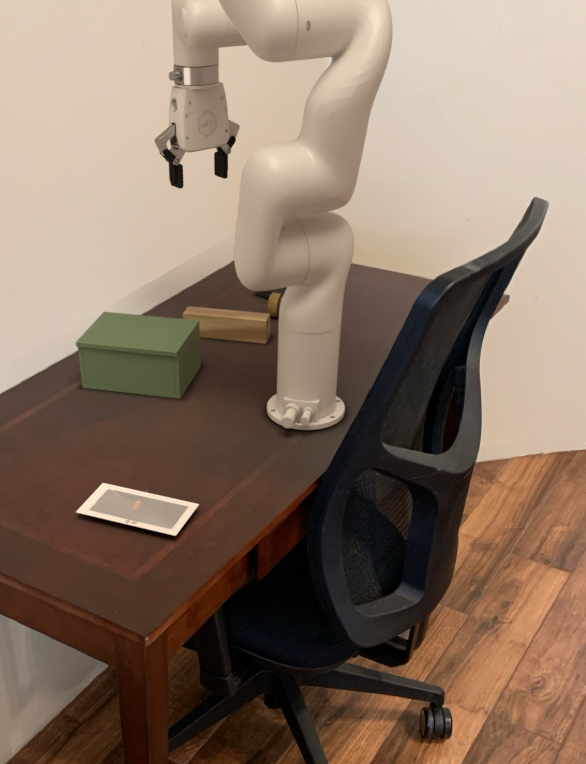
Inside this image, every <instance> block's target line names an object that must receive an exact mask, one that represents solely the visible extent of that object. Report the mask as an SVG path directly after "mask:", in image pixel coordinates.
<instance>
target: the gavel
mask: <svg viewBox="0 0 586 764" xmlns="http://www.w3.org/2000/svg"><path fill="white" fill-rule="evenodd" d="M282 298H283V294H282V293H274V292H273V293H272V294H271V295H270V297H269V298H268V301H267V307H266V308H267V313H268V314H270V317H273V318H279V309H280V304H281V301H282Z"/></svg>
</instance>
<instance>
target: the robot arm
mask: <svg viewBox="0 0 586 764" xmlns="http://www.w3.org/2000/svg"><path fill="white" fill-rule="evenodd" d="M171 24H172V25H171V27H172V49H173V50H172V51H173V52H172V53H173V70H172V71H169V73H168V79H169V81H170V82H171V81H173V83H174V85H172V86H171V91H170V96H169V108H168V127H167V128H165V129H164V130H163V131H162V132H161V133H160V134H159V135H158V136H156V137H155V139H154V144H155V145H156V148H157V150H158V151H159V152H158V153H159V155H161V157H162V158H163V159H164V160H165V162H166V163H168V178H169V183H170V186H171V187H174V188H177V189H179V190H180V189H183V187H184V186H185V185H184V166H183V164H181V162H182V159H183V157H184V156H185V154H186V153H196V152H202V151H207V150H212V149H216V151H214V153H213V162H214V163H213V164H214V165H213V168H214V169H213V171H214V176H216V177H218V178H221V179H223V180H224V179H227V178H228V176H229V175H228V174H229V173H228V171H229V155H231V153H232V148H233V146H234V145H235V143H236V141H237V136H238V133H239V131H240V124H239V123H237V122H235V121H233V120H231V119H229V111H228V103H227V102H228V101H227V95H226V89H225V86H224V82H222V81H220V48H221V49H222V48H230V47H232V48H233V47H243V46H244V47H245V46H247V47H248V48H249V49H250V51H252V53H253V54H254V55H255V56H256V57H257V58H259V59H260V60H262V61H265V62H269V63H285V62H287V63H288V62H296V61H297V62H298V61H306V60H314V59H323V58H324V59H325V58H331V63H329V66H328V67H327V68H326V69H325V70H324V71H323V72H322V74H321V75H320V76H319V77H318V79H317V80H316V81H315V83H314V85H313V87H312V88H311V91H310V92H309V94H308V96H307V99H306V101H305V102H304V103H305V104H304V109H303V116H302V123H301V128H300V132H299V135H298V136H297V137H296V138H295V139H293V140H290V141H283V142H282V141H281V142H276V143H270V144H266V145H262V146H260V147H258V148H256V149H254V151H252V152H251V153H250V154H249V156H248V157H247V159H246V161H245V163H244V166H243V168H242V172H241V177H240V182H239V183H240V184H239V193H238V204H237V212H236V222H235V232H234V244H233V261H234V267H235V268H234V269H235V273H236V276H237V278H238V280H239V282H240V283H241V285H243V286H244V288H246V289H248V290H250V291H253V292H257V291H268V290H274V289H279V288H285V287H287V289H286V291H285V293H284V295H283V298H282V301H281V304H280V309H279V317H278V326H277V327H278V330H277V332H278V333H277V365H276V367H277V369H276V371H277V372H276V393H275V394H274V395H272V396H271V397H270V398H269V399H268V401H267V402H266V414H267V416H268V417H269V418H270V420H272V421H273V422H274V423H275V424H277V425H279V426H282V427H283V428H284V429H292V430H297V431H317V430H318V431H319V430H323V429H327V428H329V427H332V426H334V425H336V424H338V423H339V422H340V421H342V420H343V418H344V416H345V413H346V405H345V403H344V401H343V399H341V398H340V397H339V396H337V386H338V373H339V359H340V347H341V346H340V344H341V331H342V320H343V307H344V298H345V291H346V285H347V282H348V281H347V280H348V276H349V272H350V269H351V265H352V262H353V258H354V252H355V236H354V232H353V229H352V227H351V225H350V223H349V221H348V220H347V219H345V218H344V217H343V216H342V215H341V214H338V213H336V212H333V211H336V210H339V209H341V208H343V207H346V205H347V204H349V202H350V201H351V200H352V197H353V195H354V192H355V189H356V185H357V181H358V177H359V173H360V168H361V162H362V158H363V153H364V147H365V143H366V138H367V134H368V127H369V122H370V117H371V114H372V113H371V112H372V108H373V105H374V102H375V100H376V96H377V94H378V91H379V89H380V86H381V84H382V81H383V79H384V76H385V73H386V70H387V68H388V63H389V60H390V56H391V51H392V45H393V32H394V31H393V30H394V29H393V28H394V27H393V17H392V12H391V7H390V4H389V1H388V0H171ZM168 142H169V145H170V148H168Z"/></svg>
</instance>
